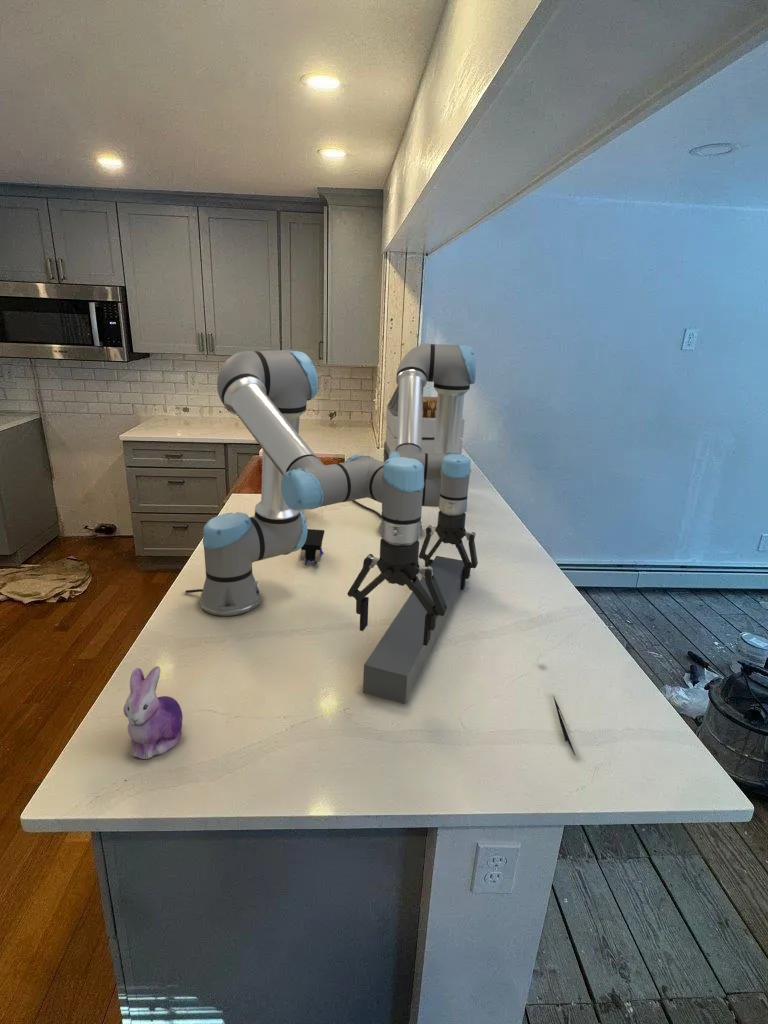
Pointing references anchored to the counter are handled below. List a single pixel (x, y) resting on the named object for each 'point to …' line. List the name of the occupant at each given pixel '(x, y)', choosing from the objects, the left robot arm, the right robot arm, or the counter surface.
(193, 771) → the counter surface
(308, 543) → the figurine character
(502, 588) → the counter surface
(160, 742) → the figurine
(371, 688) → the thick board
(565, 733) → the feather
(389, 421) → the white slatted crate
